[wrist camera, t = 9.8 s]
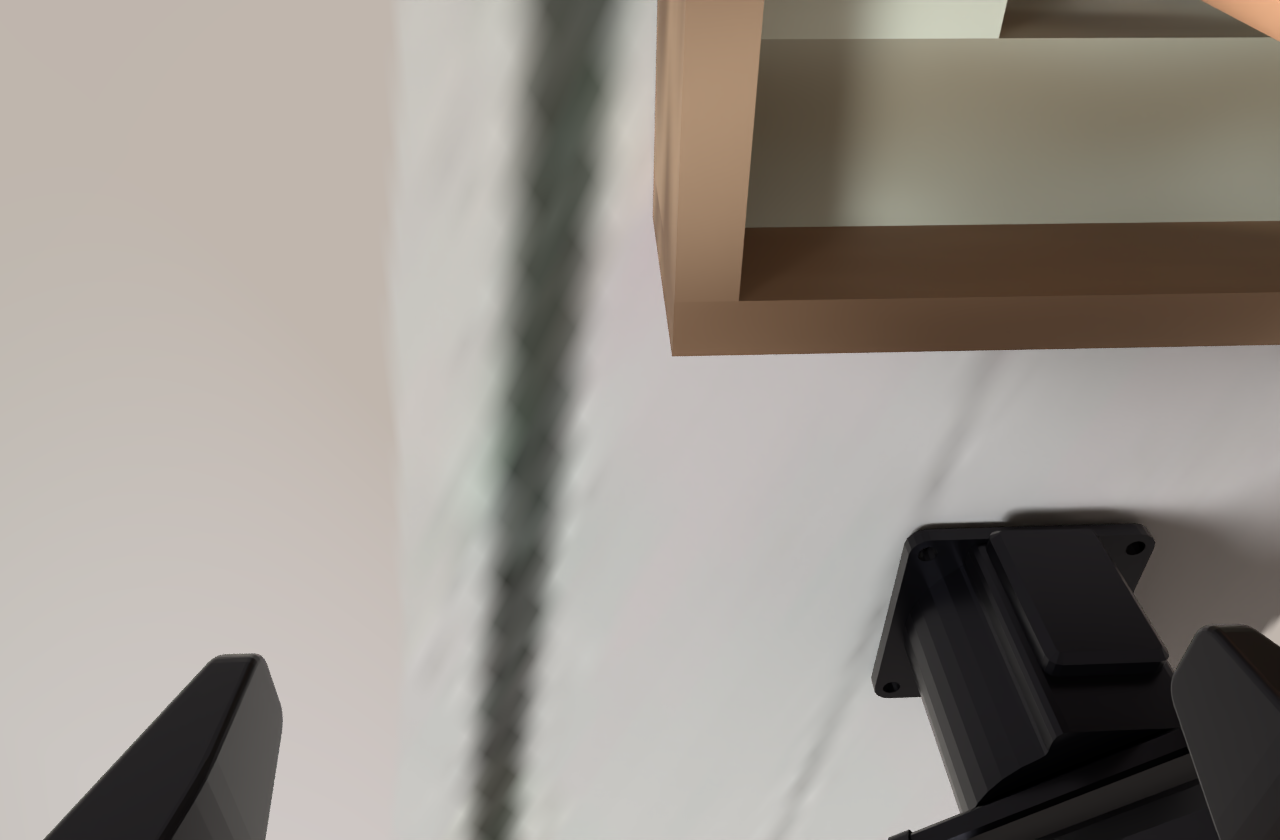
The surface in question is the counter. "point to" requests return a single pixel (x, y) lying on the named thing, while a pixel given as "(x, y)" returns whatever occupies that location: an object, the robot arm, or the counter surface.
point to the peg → (1253, 13)
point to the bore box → (965, 175)
